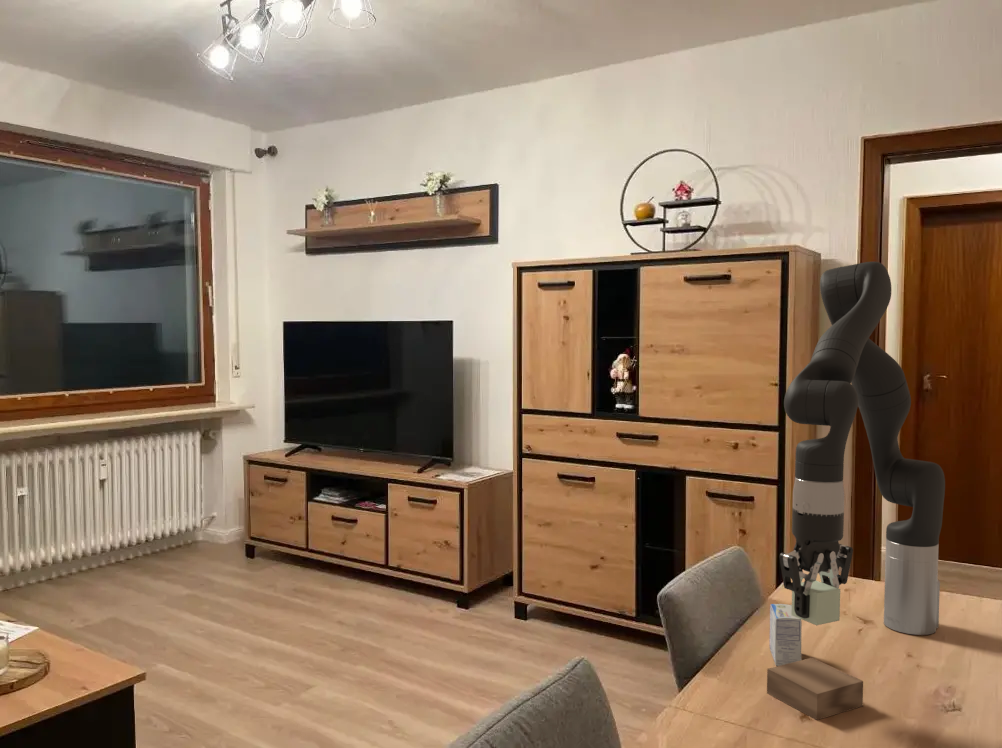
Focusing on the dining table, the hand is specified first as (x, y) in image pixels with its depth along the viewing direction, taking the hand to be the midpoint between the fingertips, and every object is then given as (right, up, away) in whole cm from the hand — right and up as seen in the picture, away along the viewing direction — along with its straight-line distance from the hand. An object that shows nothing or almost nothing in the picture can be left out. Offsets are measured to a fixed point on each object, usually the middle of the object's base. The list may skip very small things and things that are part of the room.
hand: (815, 613), depth 126 cm
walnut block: (0, -14, +1) cm, 14 cm away
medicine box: (+1, -13, +17) cm, 21 cm away
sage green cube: (0, -1, 0) cm, 1 cm away
